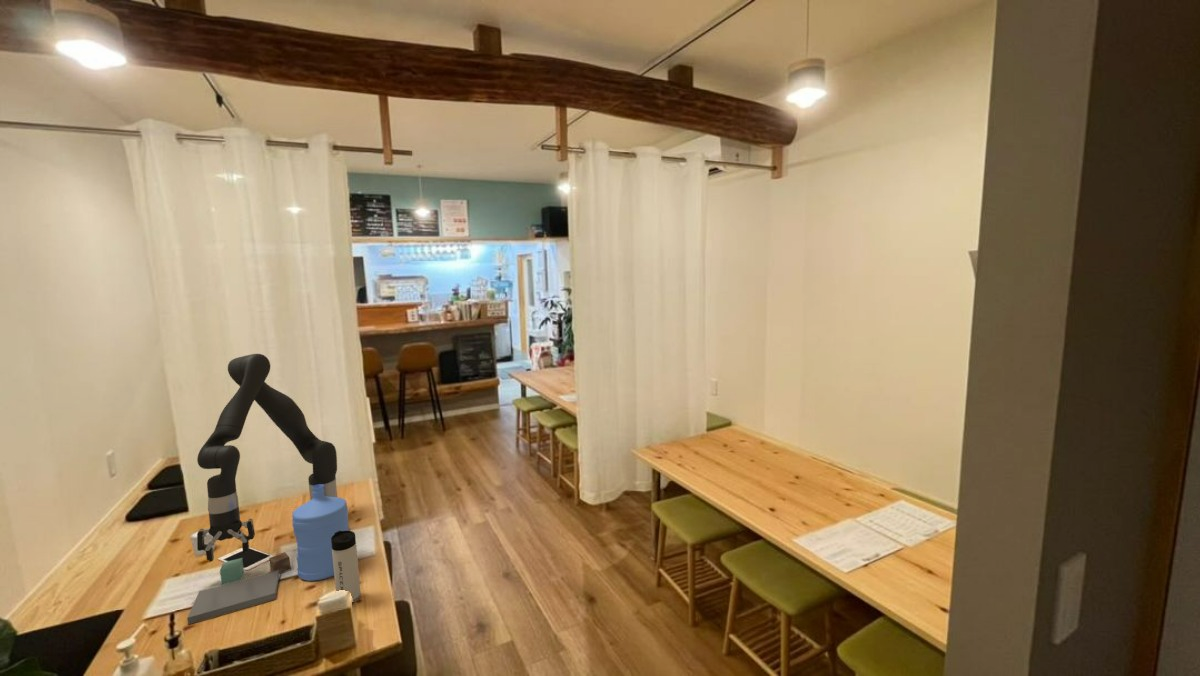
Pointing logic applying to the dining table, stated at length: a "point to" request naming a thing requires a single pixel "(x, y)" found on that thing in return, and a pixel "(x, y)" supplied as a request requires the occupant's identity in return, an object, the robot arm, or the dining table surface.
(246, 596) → the slate board
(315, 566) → the water jug
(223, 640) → the dining table surface
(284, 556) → the walnut block
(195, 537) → the white cylinder
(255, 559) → the cell phone
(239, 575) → the teal cube
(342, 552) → the travel mug
